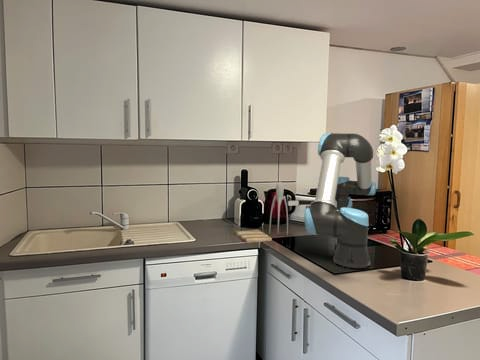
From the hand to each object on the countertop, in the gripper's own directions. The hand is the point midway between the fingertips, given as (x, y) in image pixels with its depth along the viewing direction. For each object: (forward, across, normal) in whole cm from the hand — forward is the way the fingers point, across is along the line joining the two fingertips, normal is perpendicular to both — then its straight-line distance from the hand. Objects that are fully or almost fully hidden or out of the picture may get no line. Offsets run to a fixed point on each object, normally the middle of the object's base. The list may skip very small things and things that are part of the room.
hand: (293, 205), depth 195 cm
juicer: (+8, 0, -17) cm, 18 cm away
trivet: (+24, 0, -16) cm, 29 cm away
